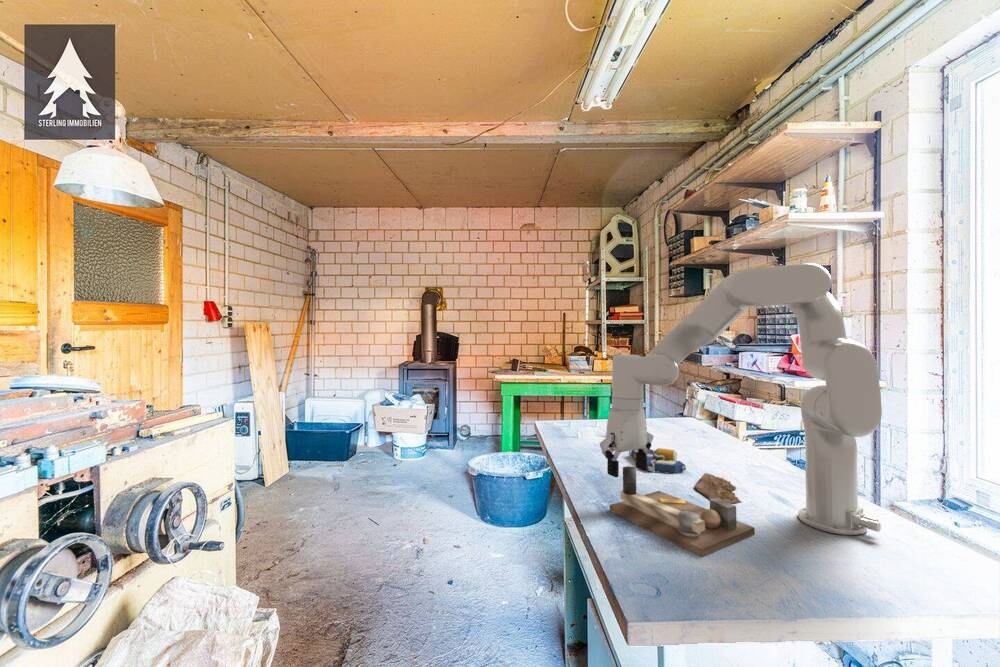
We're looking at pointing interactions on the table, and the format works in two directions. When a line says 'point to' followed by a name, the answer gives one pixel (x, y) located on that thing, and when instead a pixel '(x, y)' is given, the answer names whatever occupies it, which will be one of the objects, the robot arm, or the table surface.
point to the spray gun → (662, 460)
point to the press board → (716, 535)
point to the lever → (658, 505)
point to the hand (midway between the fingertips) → (627, 472)
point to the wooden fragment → (716, 488)
